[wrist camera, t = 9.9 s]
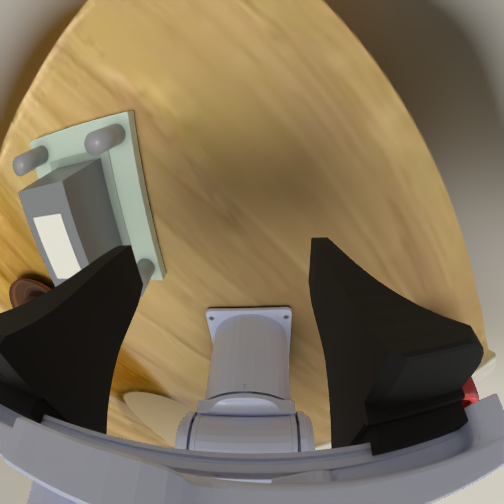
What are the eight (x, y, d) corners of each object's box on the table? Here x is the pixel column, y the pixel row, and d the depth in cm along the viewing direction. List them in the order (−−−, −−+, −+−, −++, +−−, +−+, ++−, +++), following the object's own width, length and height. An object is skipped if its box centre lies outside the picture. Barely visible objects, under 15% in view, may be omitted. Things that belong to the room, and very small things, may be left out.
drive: (124, 251, 22) (98, 290, 18) (83, 253, 22) (55, 288, 18) (100, 157, 18) (61, 181, 13) (57, 168, 18) (17, 192, 14)
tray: (165, 273, 24) (153, 303, 21) (78, 273, 25) (59, 299, 22) (133, 110, 17) (106, 117, 14) (36, 138, 18) (6, 152, 14)
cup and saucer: (20, 252, 24) (-11, 285, 19) (100, 310, 28) (78, 352, 23) (15, 307, 29) (-6, 336, 24) (80, 353, 33) (64, 387, 28)
